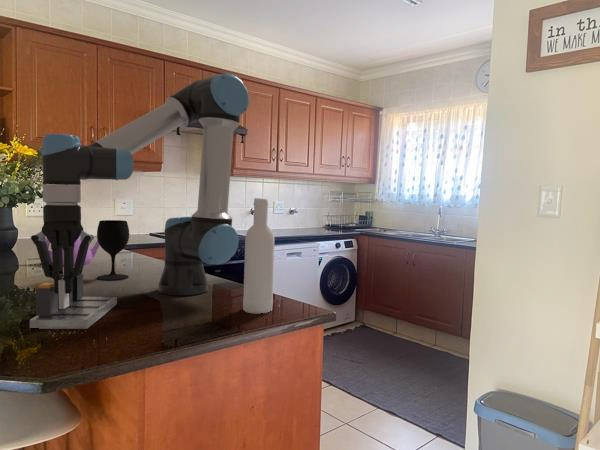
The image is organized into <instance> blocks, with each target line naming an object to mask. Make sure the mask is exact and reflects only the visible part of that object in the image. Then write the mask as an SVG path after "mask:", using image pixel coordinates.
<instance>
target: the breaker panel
mask: <svg viewBox="0 0 600 450" xmlns="http://www.w3.org/2000/svg"><path fill="white" fill-rule="evenodd" d="M52 283H54V281H52ZM117 304H118V297H117V296H84V274H83V273H82V274H81V275H79V276H77V277H74V278H73V291H72V293H69V306H68V307H67V308H65V309H59V294H58V312H56V313H54V314H53V315H51V316H36V315H35V316H34V317H32V318H31V319H29V329H30V328H39V329H40V330H44V329H45V330H47V329H48V330H63V329H64V330H66V329H67V330H73V329H74V330H75V329H76V330H86V329H87V330H88V329H89V328H90V327H91V326H92V325H94V324H95V323H96V322H97V321H99V320H100V319H101V318H102V317H103V316H104V315H106V314H107V313H108V312H109V311H110V310H112V309H113V308H114V307H115V306H117ZM39 329H38V330H39Z"/></svg>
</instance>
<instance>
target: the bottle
mask: <svg viewBox="0 0 600 450" xmlns="http://www.w3.org/2000/svg"><path fill="white" fill-rule="evenodd" d="M268 209H269V200H268V198H262V197H261V198H257V197H256V198H254V199H253V224H252V226H250V227H249V228H248V229H247V232H246V234H245V237H244V239H245V240H244V268H243V269H244V271H243V273H244V274H243V277H244V278H243V298H242V299H243V300H242V304H243V306H242V307H243V308H242V309H243V311H244V312H245V313H249V314H254V315H255V314H257V315H259V314H260V315H262V314H261V313H263V314H268V312H269V313H271V312H272V311H273V304H274V298H273V297H274V296H273V295H274V272H275V271H274V264H275V239H276V238H275V236H274V235H275V234H274V231H273V229H271V227H270V226H269V225H268V213H269V212H268ZM270 311H271V312H270Z"/></svg>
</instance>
